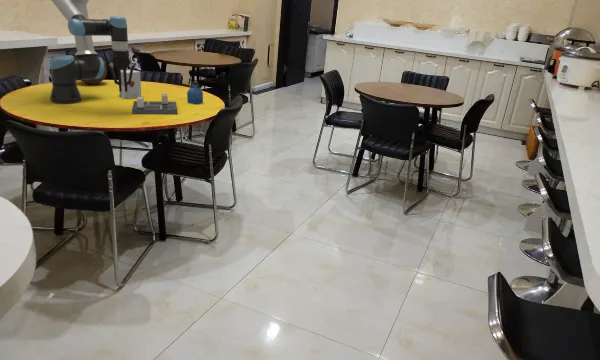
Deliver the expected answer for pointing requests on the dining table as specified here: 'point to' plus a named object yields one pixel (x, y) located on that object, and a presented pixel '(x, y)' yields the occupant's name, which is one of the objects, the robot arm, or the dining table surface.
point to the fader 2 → (164, 99)
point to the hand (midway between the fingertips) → (124, 98)
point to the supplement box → (132, 84)
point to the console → (155, 108)
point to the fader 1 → (140, 102)
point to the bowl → (96, 81)
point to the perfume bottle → (195, 94)
